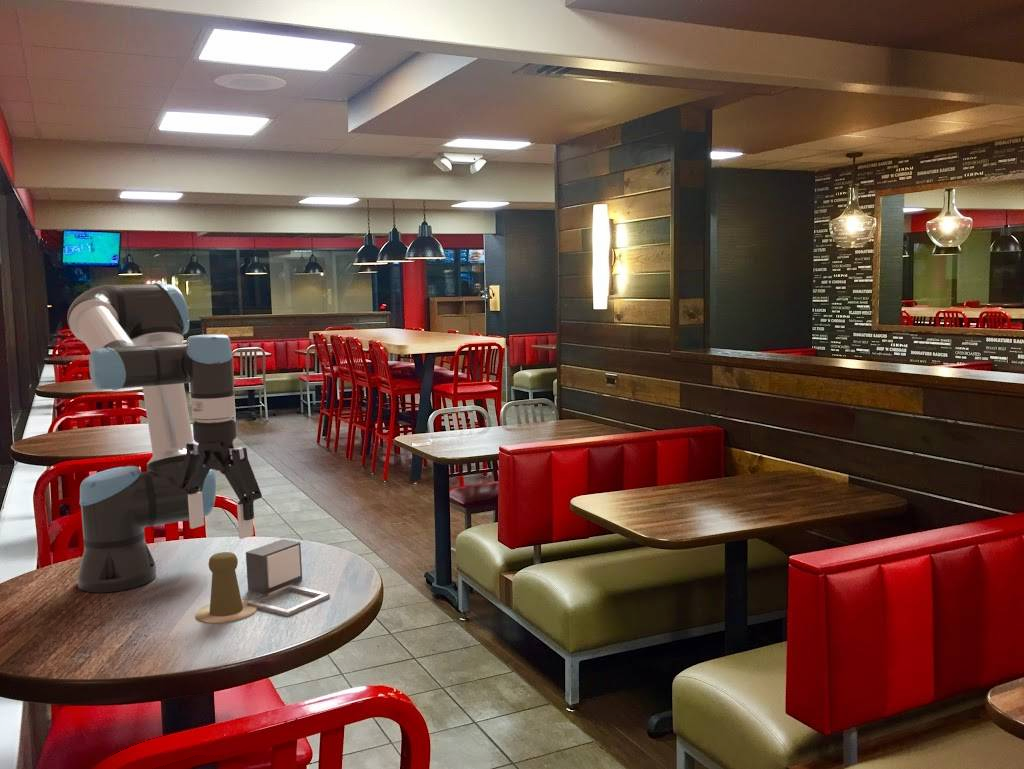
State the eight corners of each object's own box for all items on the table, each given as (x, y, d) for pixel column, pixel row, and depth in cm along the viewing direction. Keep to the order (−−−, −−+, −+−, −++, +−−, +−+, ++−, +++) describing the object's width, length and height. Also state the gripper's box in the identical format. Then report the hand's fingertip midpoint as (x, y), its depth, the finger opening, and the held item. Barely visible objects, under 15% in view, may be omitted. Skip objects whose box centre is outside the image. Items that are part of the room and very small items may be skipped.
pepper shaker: (203, 615, 164) (199, 558, 163) (219, 603, 170) (216, 548, 169) (232, 617, 163) (229, 559, 162) (248, 605, 169) (245, 549, 167)
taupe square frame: (246, 606, 169) (246, 602, 169) (289, 588, 179) (289, 584, 178) (287, 616, 163) (287, 612, 163) (329, 597, 173) (329, 593, 173)
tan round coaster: (183, 616, 165) (182, 614, 165) (230, 597, 174) (230, 596, 174) (222, 627, 159) (222, 625, 159) (269, 607, 168) (269, 606, 168)
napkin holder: (248, 590, 178) (245, 552, 177) (285, 576, 186) (283, 539, 185) (266, 595, 175) (264, 556, 174) (303, 580, 183) (301, 542, 182)
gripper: (153, 417, 166) (161, 527, 168) (244, 427, 152) (251, 546, 155) (186, 411, 172) (194, 518, 174) (277, 420, 159) (283, 535, 161)
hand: (221, 531), depth 165 cm, fingers open, 13 cm apart
